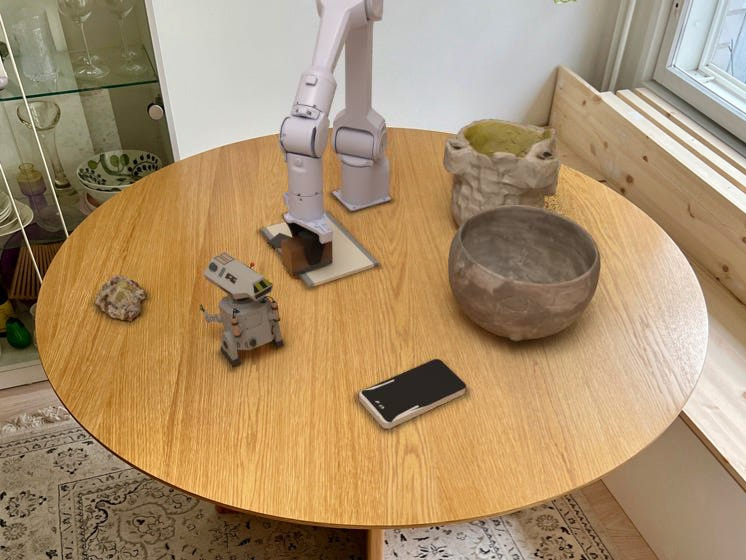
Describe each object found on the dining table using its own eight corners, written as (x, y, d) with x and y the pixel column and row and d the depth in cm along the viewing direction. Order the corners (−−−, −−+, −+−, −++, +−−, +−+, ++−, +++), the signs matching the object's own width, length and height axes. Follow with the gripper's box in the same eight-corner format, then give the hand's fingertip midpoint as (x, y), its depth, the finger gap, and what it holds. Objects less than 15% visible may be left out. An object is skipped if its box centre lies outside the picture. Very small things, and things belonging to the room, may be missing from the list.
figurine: (253, 314, 125) (245, 237, 115) (288, 352, 119) (283, 275, 108) (203, 333, 121) (190, 256, 111) (236, 374, 115) (226, 296, 104)
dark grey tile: (279, 233, 141) (279, 232, 141) (292, 238, 140) (292, 237, 140) (267, 243, 139) (267, 242, 138) (280, 248, 138) (280, 247, 138)
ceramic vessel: (429, 140, 154) (521, 54, 137) (508, 223, 161) (604, 151, 144) (396, 191, 138) (495, 101, 122) (484, 281, 145) (590, 208, 128)
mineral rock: (85, 281, 126) (129, 260, 127) (98, 299, 130) (140, 278, 131) (98, 320, 120) (144, 298, 121) (111, 338, 123) (156, 316, 124)
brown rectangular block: (322, 251, 137) (321, 228, 133) (332, 263, 134) (332, 239, 131) (282, 264, 133) (280, 240, 130) (292, 275, 131) (291, 251, 128)
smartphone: (468, 386, 113) (385, 424, 107) (467, 393, 114) (385, 431, 108) (438, 357, 117) (357, 392, 111) (437, 363, 118) (356, 398, 112)
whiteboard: (326, 213, 148) (326, 209, 148) (378, 266, 136) (378, 262, 136) (261, 232, 143) (260, 228, 142) (309, 288, 131) (309, 284, 130)
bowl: (491, 382, 116) (505, 305, 105) (413, 294, 131) (419, 219, 120) (613, 337, 124) (637, 262, 113) (527, 260, 139) (542, 187, 129)
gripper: (264, 174, 126) (270, 242, 136) (304, 215, 118) (307, 285, 127) (302, 164, 129) (305, 232, 139) (343, 204, 120) (343, 273, 130)
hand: (308, 256), depth 133 cm, fingers closed on brown rectangular block, 4 cm apart
